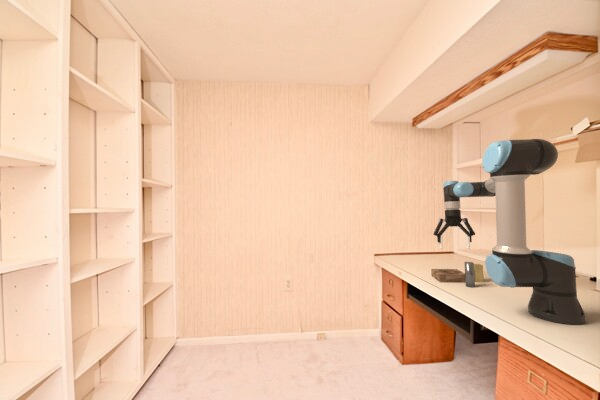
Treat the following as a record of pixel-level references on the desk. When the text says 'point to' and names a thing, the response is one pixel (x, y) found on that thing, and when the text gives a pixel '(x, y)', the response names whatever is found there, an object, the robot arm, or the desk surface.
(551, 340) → the desk surface
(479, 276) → the square bit
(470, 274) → the round bit
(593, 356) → the desk surface
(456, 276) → the socket block
